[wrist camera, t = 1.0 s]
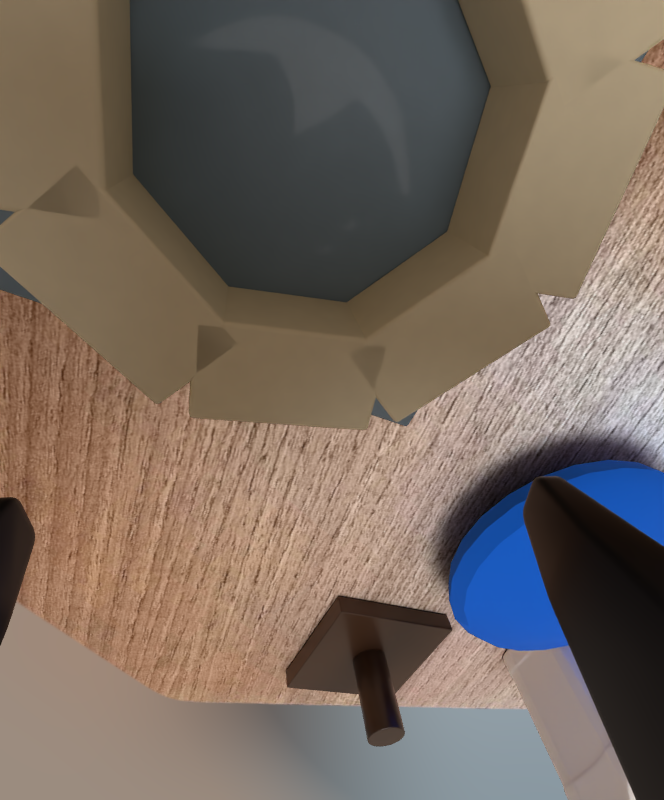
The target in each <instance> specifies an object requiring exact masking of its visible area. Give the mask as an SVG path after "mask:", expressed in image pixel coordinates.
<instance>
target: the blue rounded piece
mask: <svg viewBox="0 0 664 800" xmlns="http://www.w3.org/2000/svg"><path fill="white" fill-rule="evenodd" d="M544 476H558V477H561V478H563V479H564V480H566V481H567V482H569V483H570V484H572V485H573V486H575V487H576V488H578V489H579V490H581V491H582V492H584V493H585V494H587V495H588V496H590V497H591V498H593V499H594V500H595V501H597V502H598V503H600V504H601V505H603V506H604V507H606V508H607V509H609V510H610V511H612V512H613V513H615V514H616V515H618V516H619V517H621V518H622V519H624V520H625V521H627V522H628V523H630V524H631V525H633V526H634V527H636V528H637V529H639V530H640V531H642V532H643V533H645V534H646V535H648V536H649V537H651V538H652V539H654V540H655V541H657V542H658V543H660V544H661V545H663V546H664V473H663V472H661V471H658V470H656V469H653V468H651V467H649V466H646V465H644V464H641V463H639V462H630V461H617V460H604V461H597V462H590V463H584V464H577V465H573V466H570V467H567V468H564V469H562V470H559V471H556V472H553V473H550V474H547V475H544ZM532 482H533V481H532ZM532 482H530V483H528V484H527V485H525V486H523V487H521V488H519V489H518V490H516V491H514V492H512V493H510V494H509V495H507V496H506V497H505V498H503V499H502V500H501V501H500V502H499V503H497V504H496V505H495V506H494V507H492V508H491V509H490V510H489V511H487V512H486V513H485V514H484V515H483V516H481V517H480V519H479V520H478V521H477V522H476V523H475V525H474V526H473V527H472V528H471V529H470V531H469V532H468V533H467V534H466V536H465V537H464V538H463V539H462V541H461V543H460V545H459V547H458V549H457V551H456V553H455V555H454V557H453V560H452V562H451V567H450V575H449V601H450V604H451V607H452V611H453V614H454V617H455V619H456V620H457V621H458V622H459V623H460V624H461V626H462V627H463V628H464V629H465V630H466V631H467V632H468V633H470V634H472V635H474V636H476V637H478V638H480V639H482V640H484V641H486V642H488V643H490V644H492V645H494V646H496V647H499V648H505V649H511V650H517V651H533V650H548V649H553V648H558V647H563V646H569V645H568V642H567V640H566V638H565V636H564V633H563V631H562V629H561V626H560V624H559V622H558V619H557V617H556V615H555V613H554V610H553V608H552V605H551V603H550V600H549V598H548V595H547V592H546V589H545V586H544V583H543V580H542V577H541V573H540V570H539V567H538V564H537V561H536V558H535V554H534V551H533V548H532V545H531V542H530V539H529V535H528V532H527V529H526V526H525V523H524V518H523V508H524V505H525V502H526V499H527V496H528V493H529V490H530V488H531V485H532Z"/></svg>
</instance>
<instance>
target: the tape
mask: <svg viewBox="0 0 664 800" xmlns="http://www.w3.org/2000/svg"><path fill="white" fill-rule="evenodd" d="M458 1H459V4H460V7H461V9H462V12H463V14H464V17H465V20H466V22H467V25H468V27H469V30H470V33H471V35H472V38H473V40H474V43H475V46H476V48H477V51H478V54H479V56H480V59H481V61H482V64H483V67H484V69H485V72H486V74H487V77H488V80H489V82H490V85H491V87H490V90H489V94H488V97H487V100H486V104H485V107H484V110H483V114H482V117H481V120H480V124H479V127H478V130H477V134H476V137H475V140H474V144H473V147H472V150H471V154H470V157H469V160H468V164H467V167H466V170H465V174H464V177H463V180H462V184H461V187H460V190H459V194H458V197H457V200H456V204H455V207H454V210H453V214H452V217H451V220H450V224H449V227H448V230H447V232H446V233H444V234H443V235H442V236H440V237H439V238H437V239H436V240H434V241H433V242H432V243H430V244H429V245H427V246H426V247H425V248H423V249H422V250H420V251H419V252H417V253H416V254H415V255H413V256H412V257H410V258H409V259H408V260H406V261H405V262H403V263H402V264H400V265H399V266H398V267H396V268H395V269H393V270H392V271H390V272H389V273H388V274H386V275H385V276H383V277H382V278H381V279H379V280H378V281H376V282H375V283H373V284H372V285H371V286H369V287H368V288H366V289H365V290H364V291H362V292H361V293H359V294H358V295H356V296H355V297H354V298H352V299H351V300H349V301H348V302H340V301H332V300H325V299H318V298H310V297H303V296H295V295H288V294H281V293H273V292H266V291H258V290H251V289H244V288H236V287H229V286H228V285H227V284H226V283H225V282H224V281H223V280H222V278H221V277H220V276H219V275H218V274H217V272H216V271H215V270H214V269H213V268H212V267H211V265H210V264H209V263H208V262H207V261H206V260H205V258H204V257H203V256H202V255H201V254H200V252H199V251H198V250H197V249H196V248H195V247H194V245H193V244H192V243H191V242H190V241H189V240H188V238H187V237H186V236H185V235H184V234H183V232H182V231H181V230H180V229H179V228H178V227H177V225H176V224H175V223H174V222H173V221H172V220H171V218H170V217H169V216H168V215H167V214H166V212H165V211H164V210H163V209H162V208H161V207H160V205H159V204H158V203H157V202H156V201H155V200H154V198H153V197H152V196H151V195H150V194H149V192H148V191H147V190H146V189H145V188H144V187H143V185H142V184H141V183H140V182H139V181H138V180H137V178H136V177H135V176H134V175H133V155H132V101H131V48H130V0H0V210H5V211H12V212H14V213H13V214H12V215H11V216H10V217H9V218H7V219H6V220H5V221H4V222H3V223H2V224H1V225H0V267H1V268H2V269H3V270H5V271H6V272H7V273H8V274H9V275H10V276H11V277H13V278H14V279H15V280H16V281H17V282H18V283H19V284H20V285H22V286H23V287H24V288H25V289H26V290H27V291H28V292H30V293H31V294H32V295H33V296H34V297H35V298H36V299H37V300H39V301H40V302H41V303H42V304H43V305H44V306H45V307H47V308H48V309H49V310H50V311H51V312H52V313H53V314H54V315H56V316H57V317H58V318H59V319H60V320H61V321H62V322H64V323H65V324H66V325H67V326H68V327H69V328H70V329H71V330H73V331H74V332H75V333H76V334H77V335H78V336H79V337H81V338H82V339H83V340H84V341H85V342H86V343H87V344H88V345H90V346H91V347H92V348H93V349H94V350H95V351H96V352H98V353H99V354H100V355H101V356H102V357H103V358H104V359H105V360H107V361H108V362H109V363H110V364H111V365H112V366H113V367H115V368H116V369H117V370H118V371H119V372H120V373H121V374H122V375H124V376H125V377H126V378H127V379H128V380H129V381H130V382H132V383H133V384H134V385H135V386H136V387H137V388H138V389H139V390H141V391H142V392H143V393H144V394H145V395H146V396H147V397H149V398H150V399H151V400H152V401H153V402H154V403H156V404H159V403H161V402H162V401H164V400H165V399H166V398H168V397H169V396H171V395H172V394H173V393H175V392H176V391H178V390H179V389H180V388H182V387H183V386H184V385H186V384H187V383H189V382H190V396H189V414H190V417H192V418H200V419H214V420H228V421H242V422H256V423H270V424H284V425H298V426H311V427H325V428H339V429H353V430H366V429H367V428H368V424H369V421H370V417H371V413H372V410H373V406H374V402H375V399H376V398H377V400H378V401H379V402H380V404H381V405H382V406H383V407H384V409H385V410H386V411H387V413H388V414H389V415H390V417H391V418H392V419H393V421H395V422H399V421H401V420H402V419H404V418H405V417H407V416H409V415H410V414H412V413H413V412H415V411H416V410H418V409H420V408H421V407H423V406H424V405H426V404H428V403H429V402H431V401H432V400H434V399H435V398H437V397H439V396H440V395H442V394H443V393H445V392H447V391H448V390H450V389H451V388H453V387H454V386H456V385H458V384H459V383H461V382H462V381H464V380H466V379H467V378H469V377H470V376H472V375H473V374H475V373H477V372H478V371H480V370H481V369H483V368H485V367H486V366H488V365H489V364H491V363H492V362H494V361H496V360H497V359H499V358H500V357H502V356H504V355H505V354H507V353H508V352H510V351H511V350H513V349H515V348H516V347H518V346H519V345H521V344H523V343H524V342H526V341H527V340H529V339H530V338H532V337H534V336H535V335H537V334H538V333H540V332H542V331H543V330H545V329H546V328H548V327H549V326H550V321H549V319H548V317H547V314H546V312H545V310H544V307H543V305H542V303H541V300H540V298H539V296H538V293H539V294H545V295H552V296H558V297H565V298H571V299H573V298H576V296H577V294H578V292H579V290H580V288H581V286H582V283H583V281H584V279H585V277H586V275H587V273H588V270H589V268H590V266H591V264H592V262H593V260H594V257H595V255H596V253H597V251H598V249H599V247H600V244H601V242H602V240H603V238H604V236H605V234H606V231H607V229H608V227H609V225H610V223H611V221H612V218H613V216H614V214H615V212H616V210H617V208H618V205H619V203H620V201H621V199H622V197H623V195H624V192H625V190H626V188H627V186H628V184H629V182H630V179H631V177H632V175H633V173H634V171H635V169H636V166H637V164H638V162H639V160H640V158H641V156H642V153H643V151H644V149H645V147H646V145H647V143H648V140H649V138H650V136H651V134H652V132H653V130H654V127H655V125H656V123H657V121H658V119H659V117H660V114H661V112H662V110H663V108H664V69H662V68H658V67H655V66H652V65H648V64H645V63H642V62H638V61H635V59H637V58H638V57H640V56H641V55H642V54H644V53H645V52H647V51H648V50H649V49H651V48H652V47H653V46H655V45H656V44H658V43H659V42H660V41H662V40H663V39H664V0H458Z"/></svg>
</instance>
